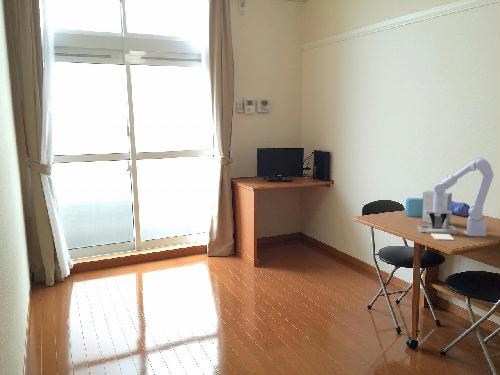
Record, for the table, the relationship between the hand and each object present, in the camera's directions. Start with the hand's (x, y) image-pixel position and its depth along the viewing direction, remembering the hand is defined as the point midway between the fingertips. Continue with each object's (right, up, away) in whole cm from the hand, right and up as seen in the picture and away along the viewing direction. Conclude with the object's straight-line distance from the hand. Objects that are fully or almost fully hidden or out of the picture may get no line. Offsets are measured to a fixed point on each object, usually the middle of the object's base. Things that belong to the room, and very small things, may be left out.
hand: (437, 225), depth 244 cm
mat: (-2, -6, -11) cm, 12 cm away
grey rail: (0, -3, +1) cm, 3 cm away
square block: (0, -3, +1) cm, 3 cm away
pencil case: (+29, +5, +40) cm, 50 cm away
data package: (+2, +3, +36) cm, 37 cm away
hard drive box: (+7, 0, +18) cm, 20 cm away
